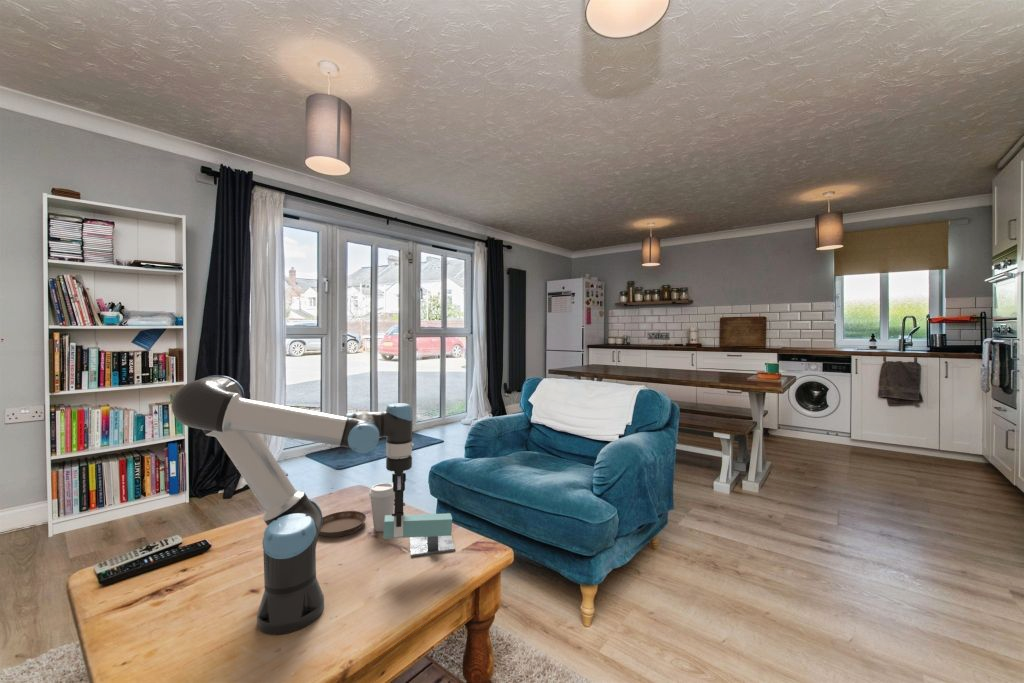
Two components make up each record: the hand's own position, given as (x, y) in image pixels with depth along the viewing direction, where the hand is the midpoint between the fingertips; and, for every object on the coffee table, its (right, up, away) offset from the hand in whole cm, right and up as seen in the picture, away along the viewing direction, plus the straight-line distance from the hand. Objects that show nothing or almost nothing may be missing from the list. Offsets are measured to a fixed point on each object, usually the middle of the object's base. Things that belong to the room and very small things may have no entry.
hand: (398, 532), depth 131 cm
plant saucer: (-28, -11, +27) cm, 40 cm away
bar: (+5, -1, +1) cm, 6 cm away
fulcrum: (+7, -10, +15) cm, 19 cm away
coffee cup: (-13, -10, +27) cm, 32 cm away
